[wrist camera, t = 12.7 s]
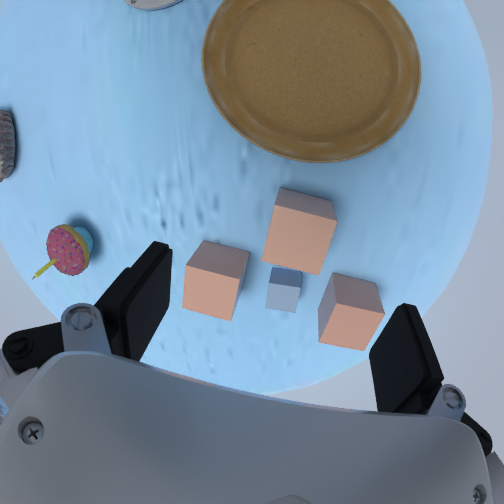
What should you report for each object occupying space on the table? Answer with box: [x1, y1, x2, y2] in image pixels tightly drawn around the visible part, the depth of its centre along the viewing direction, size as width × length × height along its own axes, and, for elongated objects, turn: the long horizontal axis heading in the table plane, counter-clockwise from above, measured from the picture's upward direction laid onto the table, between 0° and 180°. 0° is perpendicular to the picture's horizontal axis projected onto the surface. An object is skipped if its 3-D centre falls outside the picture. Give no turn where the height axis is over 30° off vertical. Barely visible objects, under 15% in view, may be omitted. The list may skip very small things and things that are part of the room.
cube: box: [265, 268, 301, 313], centre depth 40 cm, size 4×4×4 cm
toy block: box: [261, 188, 338, 275], centre depth 34 cm, size 6×6×7 cm
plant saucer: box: [202, 0, 421, 163], centre depth 27 cm, size 24×24×3 cm
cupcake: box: [32, 224, 93, 279], centre depth 39 cm, size 9×8×12 cm
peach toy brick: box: [182, 240, 250, 321], centre depth 39 cm, size 6×6×7 cm
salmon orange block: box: [318, 273, 385, 351], centre depth 38 cm, size 6×6×7 cm
